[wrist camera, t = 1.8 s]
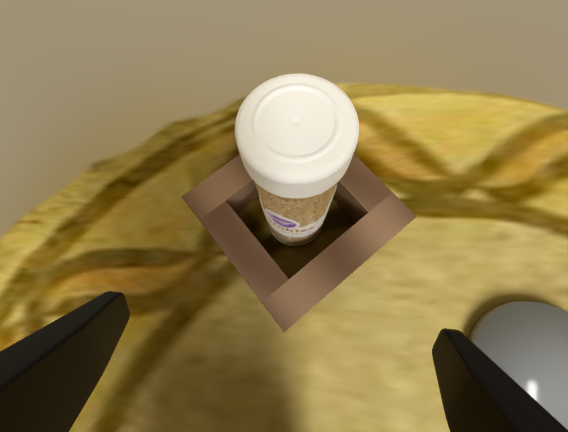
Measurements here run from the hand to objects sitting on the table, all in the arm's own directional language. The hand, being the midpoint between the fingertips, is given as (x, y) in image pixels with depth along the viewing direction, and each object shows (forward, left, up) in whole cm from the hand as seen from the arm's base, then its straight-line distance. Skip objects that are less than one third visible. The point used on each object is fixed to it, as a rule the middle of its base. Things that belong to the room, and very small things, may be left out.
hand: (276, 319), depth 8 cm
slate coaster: (+10, -14, -14) cm, 22 cm away
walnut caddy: (+5, +5, -14) cm, 15 cm away
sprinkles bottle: (+5, +5, -14) cm, 15 cm away
